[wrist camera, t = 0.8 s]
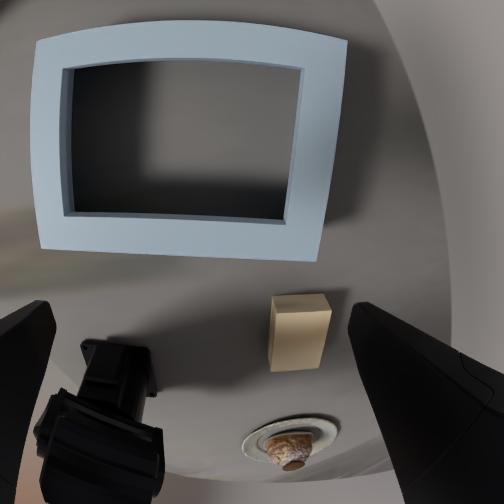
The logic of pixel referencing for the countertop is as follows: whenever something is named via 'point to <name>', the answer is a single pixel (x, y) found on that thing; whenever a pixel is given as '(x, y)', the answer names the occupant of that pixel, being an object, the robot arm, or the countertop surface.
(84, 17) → the countertop surface
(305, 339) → the block
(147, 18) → the countertop surface
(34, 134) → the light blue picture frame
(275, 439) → the pastry
